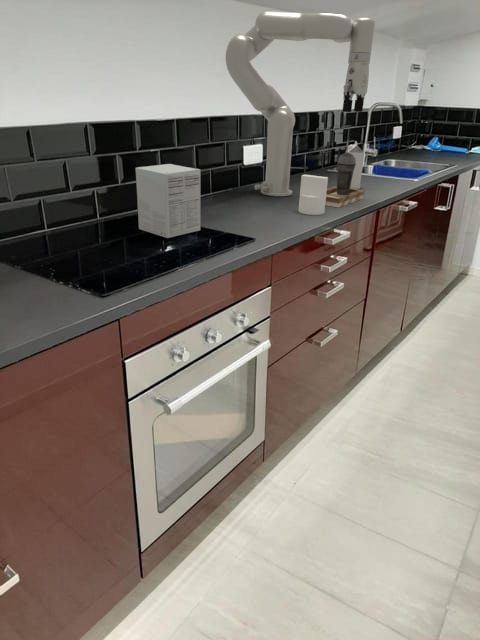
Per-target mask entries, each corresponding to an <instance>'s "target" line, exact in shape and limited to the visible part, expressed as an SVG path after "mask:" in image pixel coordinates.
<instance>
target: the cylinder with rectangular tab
mask: <svg viewBox="0 0 480 640" xmlns="http://www.w3.org/2000/svg"><path fill="white" fill-rule="evenodd" d="M328 181H329V177H328V176H321V175H319V176H318V175H313V174H302V175H301V178H300V188H299V189H300V191H299V201H298V203H299V204H298V213H300V214H303V215H308V216H309V215H310V216H319V215H324V214H325V210H326V205H325V202H326V192H327V188H328Z"/></svg>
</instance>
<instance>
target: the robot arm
mask: <svg viewBox="0 0 480 640" xmlns="http://www.w3.org/2000/svg"><path fill="white" fill-rule="evenodd" d="M254 23H255V24H254V25H253V27H252V28H250V29H249V31H247V32H246V33H245V34H241V33H240V34H236V35H234V36H233V37H232V38H231V39H230V40H229V42H228V44H227V46H226V47H227V48H226V51H225V66H226V68H227V71H228V73H229V75H230V77H231V78H232V80H233V82H234V83H235V84H236V86H237V87H238V89H239V90H240V91H241V93H242V94H243V95H244V96H245V97H246V99H247V100H248V101H249V102H250V104H251V106H252V108H253V109H255V110H256V111H257V112H260V113H261V114H262V115H263V117H264V118H265V119H266V120H267V146H266V162H265V163H266V165H265V180H263V182H262V183H261V184H255V185H254V186H253V187H254V190H256V191H257V190H260V193H261V194H262V195H266V196H270V197H290V196H292V195H293V190H291V189H289V188H290V177H291V163H292V162H291V161H292V149H293V145H292V144H293V132H294V131H293V130H294V127H295V124H296V115H295V114H294V112H293V110H292V109H291V108H290V106H289V105H288V104H287V103H286V101H285V100H284V99H283V98H282V96H281V95H280V94H279V93H278V91H277V90H276V89H275V88H274V87H273V86H272V85H269V84H267V82H265V81H264V79H263V78H262V76H260V74H259V72H258V71H257V69H255V68H254V67H253V65H252V64H251V61H253V60H254V59H255V58H256V57H258V55H260V54H261V53H262V52H263V51H264V50H265V49H266V48H267V47H268V46H269V45H270V44H271V43H272V42H274V41H275V40H279V41H280V40H282V41H295V42H300V41H301V42H302V41H307V40H311V39H312V40H315V39H317V40H329V41H330V40H331V41H334V42H335V43H339V44H340V43H341V44H343V43H348V42H350V43H349V51H348V58H347V64H348V65H347V69H346V70H347V71H346V77H345V81H344V83H345V84H344V85H343V99H342V100H343V104H342V112H345V113H351V112H352V110H353V112H357V113H358V112H359V113H362V112H363V109H364V104H365V102H364V101H365V96H366V95H367V93H368V85H369V76H370V73H369V72H370V63H371V54H372V48H373V41H374V33H375V27H376V25H375V24H376V21H375V20H374V19H373V18H372V17H371V18H370V17H357V18H355V19H350V17H348V16H347V15H345V14H340V13H337V14H336V13H323V12H322V13H321V12H318V13H317V12H314V13H313V12H312V13H311V12H294V11H279V10H278V11H277V10H276V11H275V10H264V11H261V12H260V13H258V15H257V17H256V18H255V22H254ZM354 95H355V98H356V99H354V105H353V98H354ZM353 106H354V109H353V108H352V107H353Z"/></svg>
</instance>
